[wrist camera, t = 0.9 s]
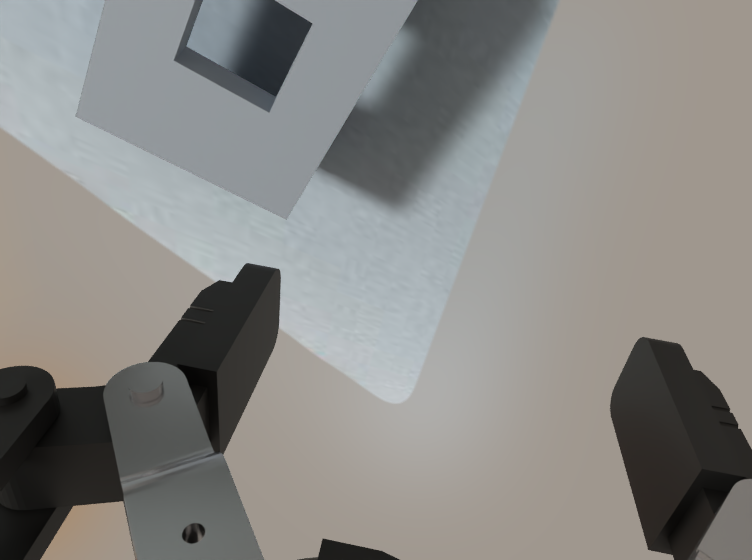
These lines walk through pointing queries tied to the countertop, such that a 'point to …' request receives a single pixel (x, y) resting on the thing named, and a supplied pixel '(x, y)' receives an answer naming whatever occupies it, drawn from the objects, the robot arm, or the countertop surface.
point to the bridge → (234, 93)
